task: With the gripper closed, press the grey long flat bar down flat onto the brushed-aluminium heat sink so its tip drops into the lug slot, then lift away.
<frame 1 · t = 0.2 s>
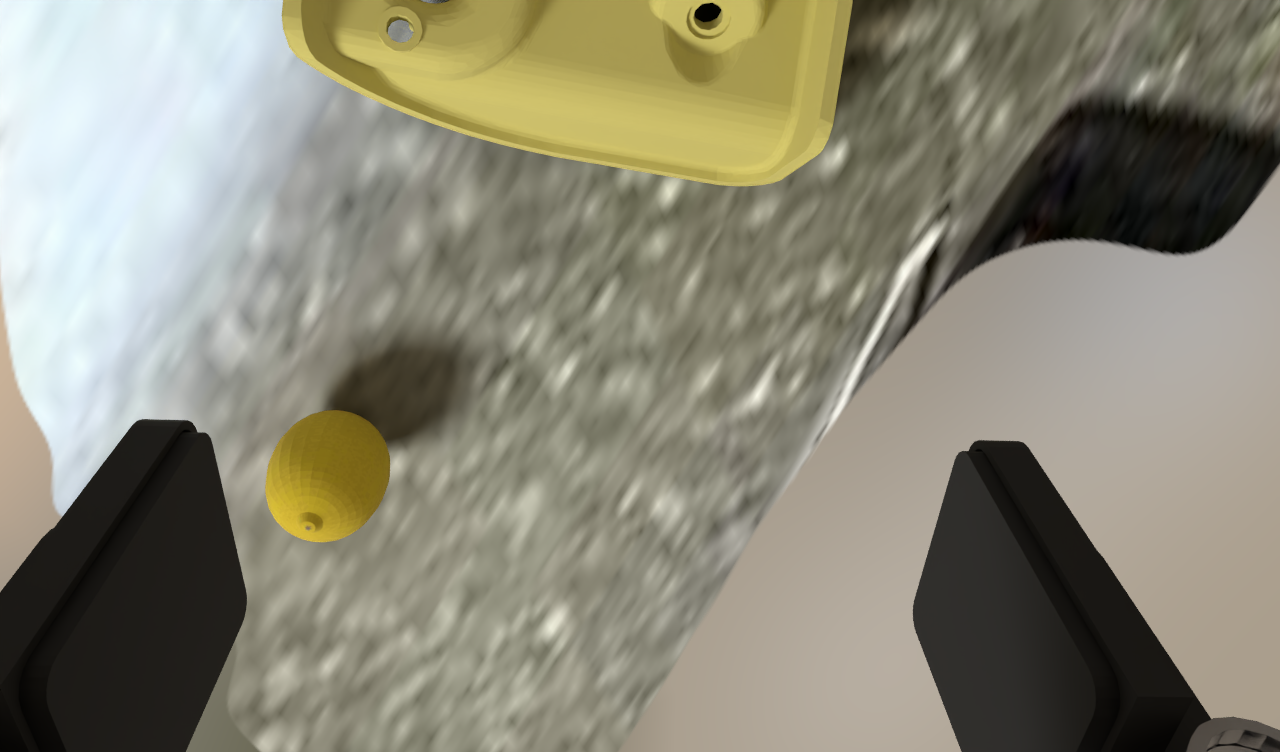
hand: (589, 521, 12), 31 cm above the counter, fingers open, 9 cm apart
lemon: (350, 424, 48), on the counter
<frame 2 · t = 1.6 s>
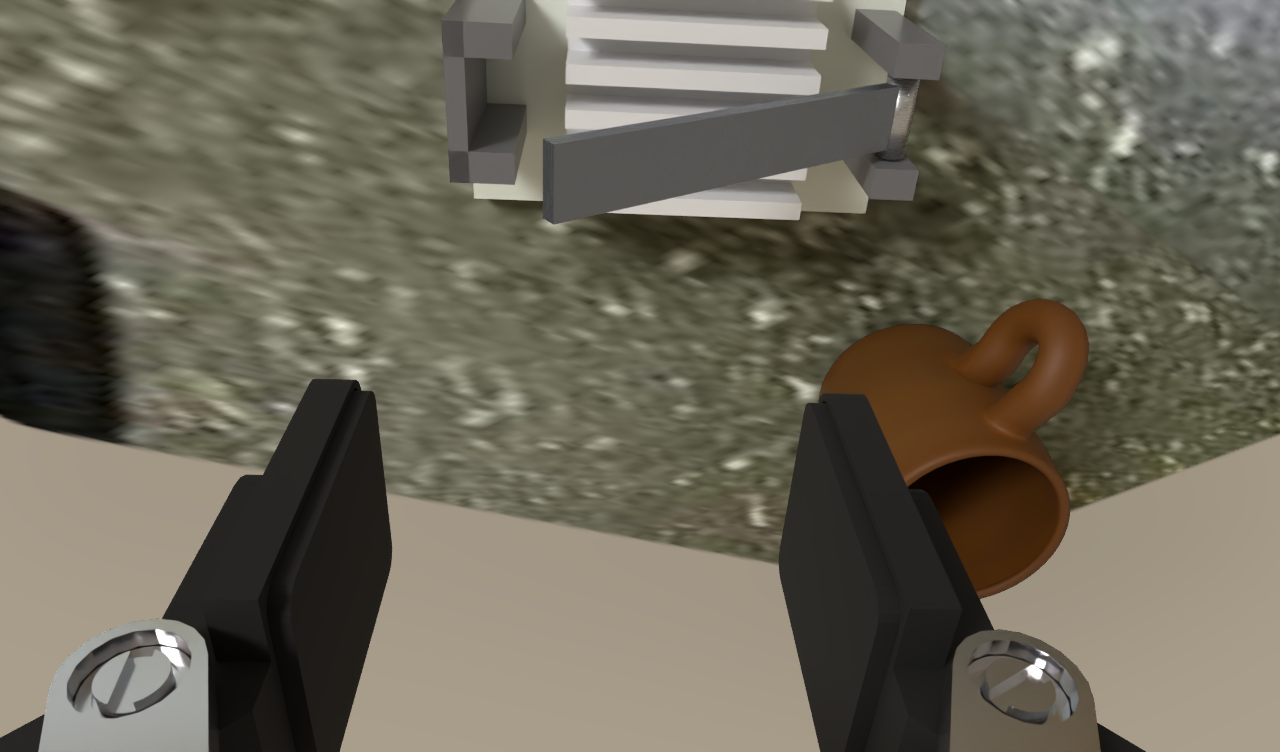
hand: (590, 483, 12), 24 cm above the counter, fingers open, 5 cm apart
heatsink board: (680, 65, 33), on the counter
grey long flat bar: (752, 142, 26), point 9 cm above the counter, hinge at 35.0°
mug: (920, 348, 40), on the counter
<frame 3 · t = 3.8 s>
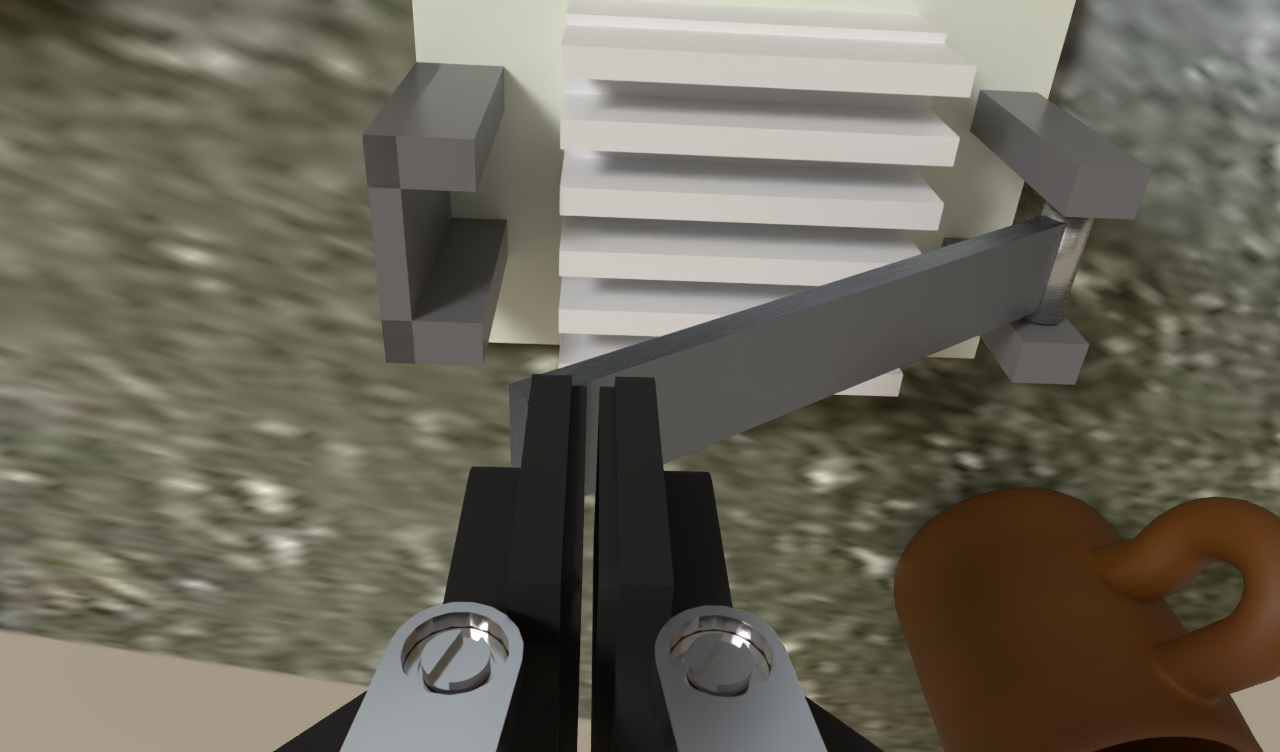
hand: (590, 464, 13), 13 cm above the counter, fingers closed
heatsink board: (723, 162, 24), on the counter
grey long flat bar: (852, 332, 16), point 9 cm above the counter, hinge at 34.7°, touching gripper
mug: (1030, 514, 31), on the counter
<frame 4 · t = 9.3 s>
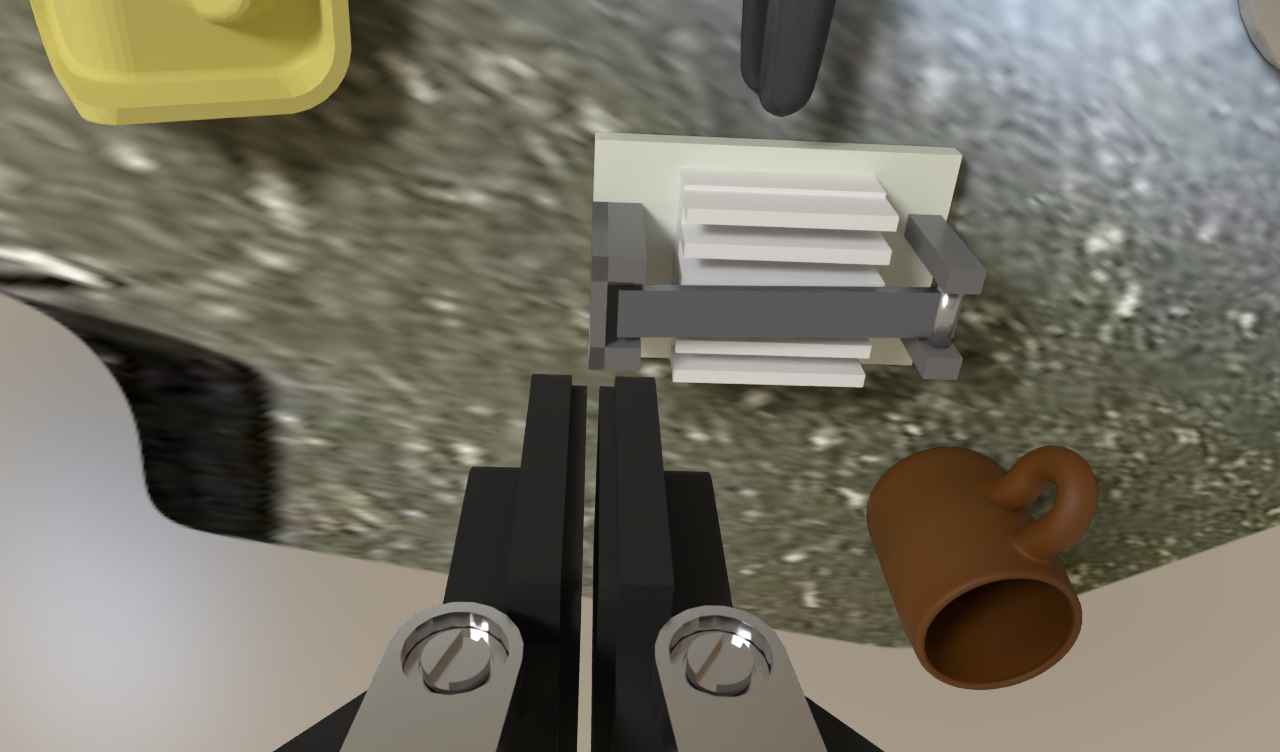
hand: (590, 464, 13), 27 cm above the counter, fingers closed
heatsink board: (762, 251, 41), on the counter
grey long flat bar: (790, 312, 36), point 6 cm above the counter, hinge at 3.5°
mug: (954, 465, 48), on the counter
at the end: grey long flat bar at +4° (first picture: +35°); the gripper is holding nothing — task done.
